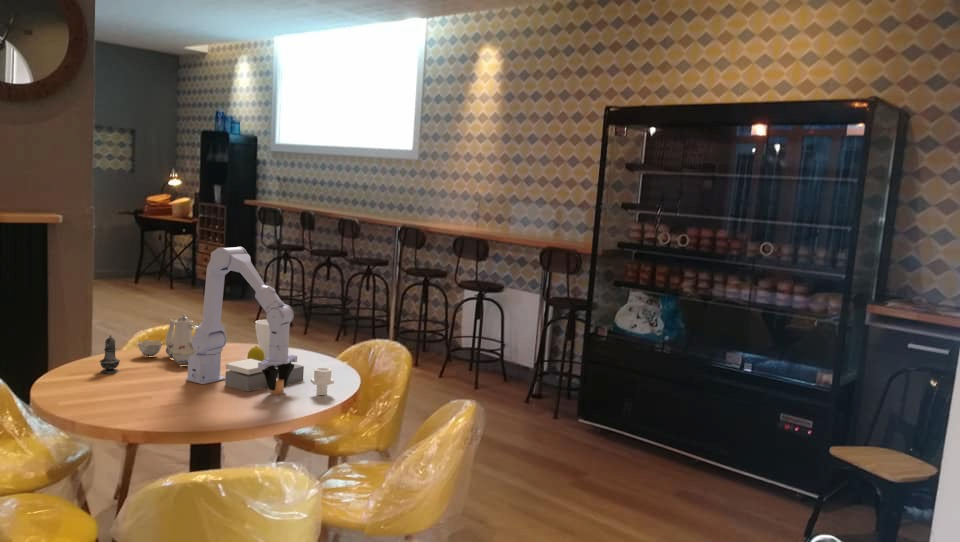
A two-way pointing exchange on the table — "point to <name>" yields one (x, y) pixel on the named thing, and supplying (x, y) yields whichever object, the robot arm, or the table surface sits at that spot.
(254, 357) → the lemon
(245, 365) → the cream square tile
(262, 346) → the cup
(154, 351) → the chinaware
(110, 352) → the salt shaker
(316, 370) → the pipe fitting
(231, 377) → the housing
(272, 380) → the robot arm
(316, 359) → the table surface
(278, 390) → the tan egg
